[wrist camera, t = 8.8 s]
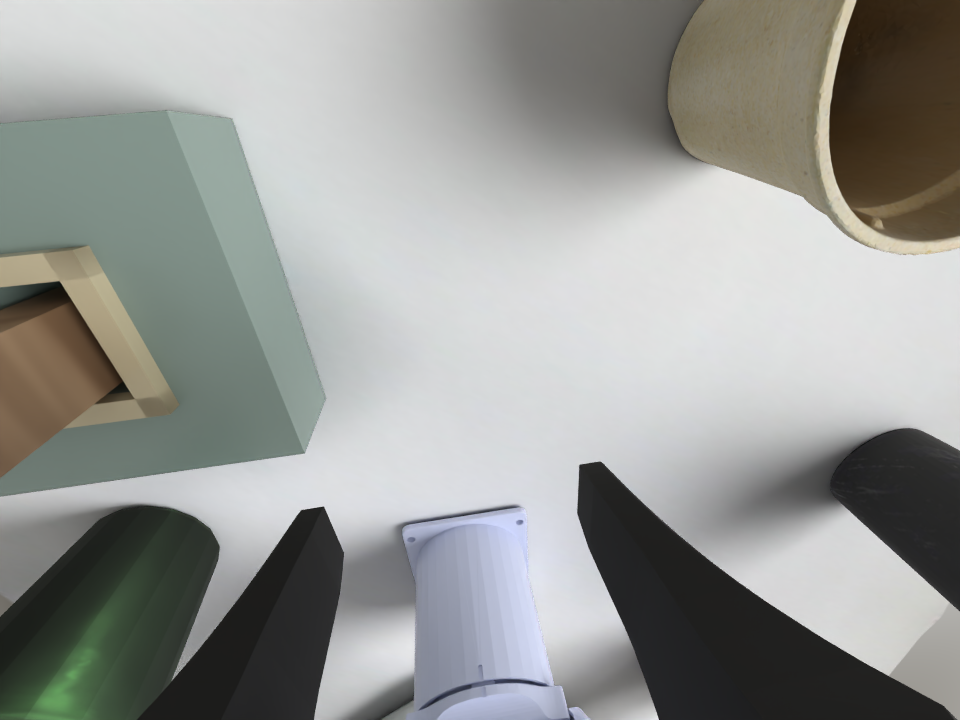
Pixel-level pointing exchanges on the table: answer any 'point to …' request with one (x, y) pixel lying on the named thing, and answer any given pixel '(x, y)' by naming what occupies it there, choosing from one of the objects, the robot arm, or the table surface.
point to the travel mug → (909, 501)
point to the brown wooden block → (46, 372)
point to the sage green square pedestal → (156, 294)
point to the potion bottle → (107, 619)
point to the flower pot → (832, 109)
